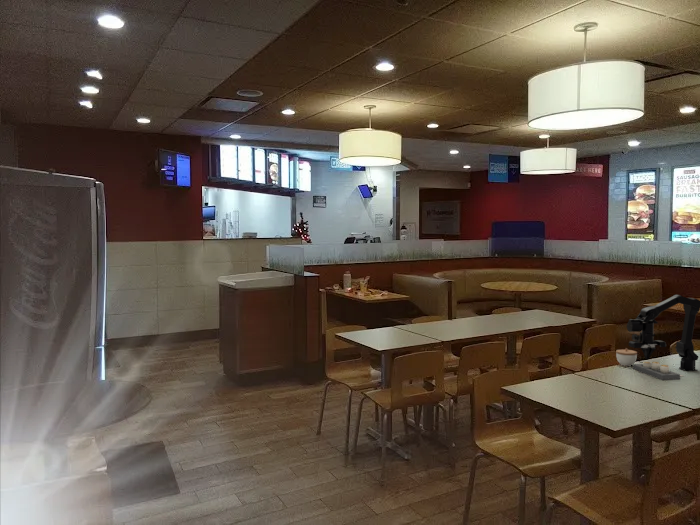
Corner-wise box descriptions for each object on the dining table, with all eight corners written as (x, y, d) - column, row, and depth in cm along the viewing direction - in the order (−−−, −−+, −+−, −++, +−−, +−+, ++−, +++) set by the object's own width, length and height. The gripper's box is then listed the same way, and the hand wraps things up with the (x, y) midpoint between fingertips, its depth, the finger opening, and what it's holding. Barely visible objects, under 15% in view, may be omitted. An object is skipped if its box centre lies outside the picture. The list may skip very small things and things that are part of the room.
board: (649, 367, 311) (649, 363, 310) (679, 379, 287) (680, 374, 287) (632, 368, 309) (632, 364, 309) (662, 380, 286) (662, 375, 285)
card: (664, 369, 307) (664, 368, 307) (683, 376, 292) (683, 375, 292) (655, 369, 306) (655, 369, 306) (674, 376, 291) (674, 376, 291)
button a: (648, 368, 307) (648, 361, 307) (652, 370, 303) (652, 363, 303) (641, 369, 307) (641, 361, 307) (646, 370, 303) (646, 363, 303)
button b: (656, 369, 300) (656, 361, 300) (661, 370, 296) (661, 363, 296) (649, 369, 300) (649, 361, 299) (654, 371, 296) (654, 363, 296)
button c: (665, 372, 293) (665, 364, 293) (670, 374, 289) (670, 366, 289) (658, 372, 293) (658, 364, 293) (663, 374, 289) (663, 366, 289)
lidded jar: (611, 363, 321) (611, 347, 321) (624, 361, 326) (624, 346, 325) (627, 367, 311) (628, 351, 311) (641, 365, 316) (641, 349, 315)
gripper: (653, 328, 313) (652, 355, 314) (622, 329, 311) (622, 357, 312) (667, 331, 302) (666, 360, 303) (635, 333, 300) (634, 361, 300)
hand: (646, 359), depth 305 cm, fingers closed
